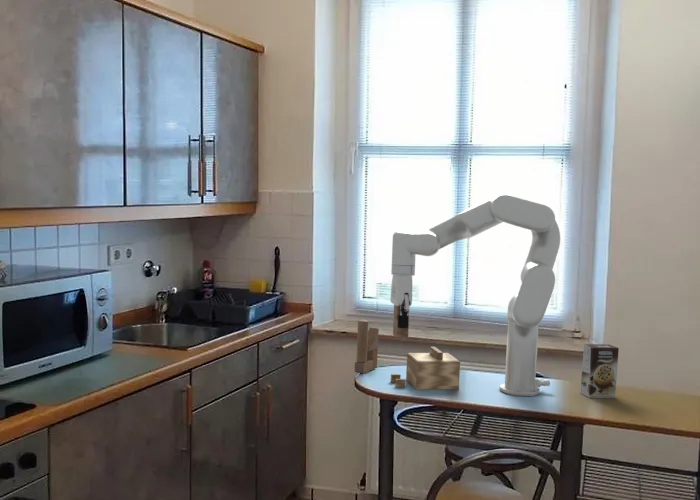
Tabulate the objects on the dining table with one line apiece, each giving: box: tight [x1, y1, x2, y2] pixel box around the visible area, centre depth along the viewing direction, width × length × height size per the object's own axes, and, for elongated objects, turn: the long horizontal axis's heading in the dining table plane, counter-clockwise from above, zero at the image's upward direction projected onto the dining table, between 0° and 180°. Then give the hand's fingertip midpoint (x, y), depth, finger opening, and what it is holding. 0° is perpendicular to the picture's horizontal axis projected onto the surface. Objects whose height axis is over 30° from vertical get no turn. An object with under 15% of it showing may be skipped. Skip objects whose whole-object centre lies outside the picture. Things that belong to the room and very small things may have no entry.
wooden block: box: [354, 319, 380, 374], centre depth 265 cm, size 4×11×18 cm, turn 152°
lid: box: [407, 346, 460, 363], centre depth 249 cm, size 14×11×3 cm
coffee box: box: [580, 343, 620, 399], centre depth 242 cm, size 9×6×16 cm
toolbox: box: [390, 352, 461, 390], centre depth 249 cm, size 20×13×9 cm, turn 101°
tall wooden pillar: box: [392, 304, 410, 338], centre depth 246 cm, size 4×4×12 cm
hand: (401, 325), depth 246 cm, fingers closed on tall wooden pillar, 4 cm apart
